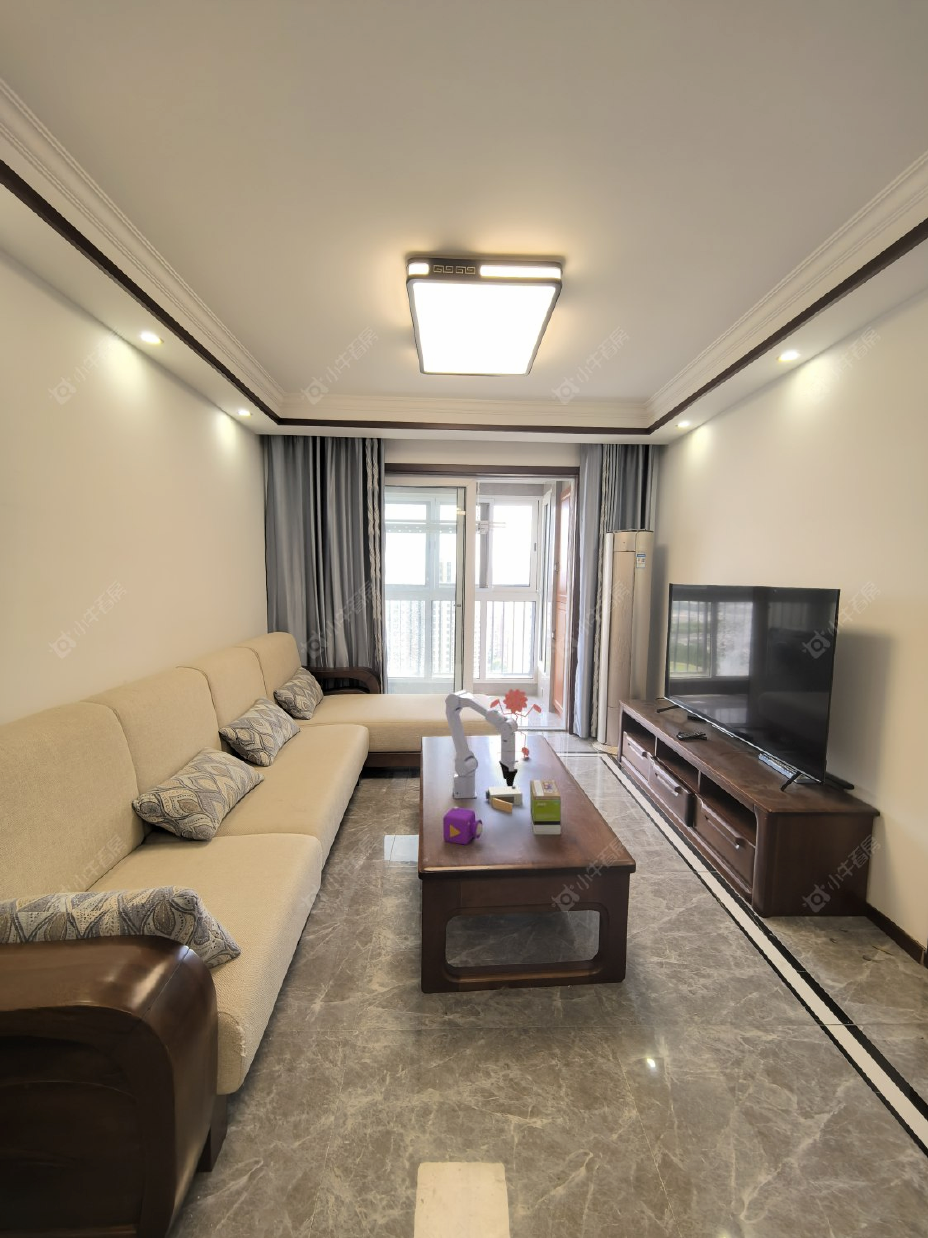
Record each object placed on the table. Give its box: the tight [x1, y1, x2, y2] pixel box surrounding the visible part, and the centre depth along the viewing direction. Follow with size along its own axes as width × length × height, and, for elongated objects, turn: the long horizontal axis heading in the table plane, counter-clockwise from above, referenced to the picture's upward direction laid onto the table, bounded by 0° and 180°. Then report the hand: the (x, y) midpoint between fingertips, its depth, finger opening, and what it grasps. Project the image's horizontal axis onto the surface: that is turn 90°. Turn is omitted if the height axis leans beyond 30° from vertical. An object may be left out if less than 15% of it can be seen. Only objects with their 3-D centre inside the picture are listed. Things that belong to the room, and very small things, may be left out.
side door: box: [490, 797, 513, 814], centre depth 215 cm, size 10×1×4 cm, turn 51°
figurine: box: [489, 688, 542, 761], centre depth 277 cm, size 15×26×35 cm, turn 86°
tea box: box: [529, 779, 562, 835], centre depth 201 cm, size 15×10×15 cm, turn 178°
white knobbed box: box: [485, 785, 523, 806], centre depth 223 cm, size 14×8×5 cm, turn 96°
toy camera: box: [442, 805, 483, 845], centre depth 191 cm, size 11×14×10 cm
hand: (508, 782), depth 218 cm, fingers open, 7 cm apart
